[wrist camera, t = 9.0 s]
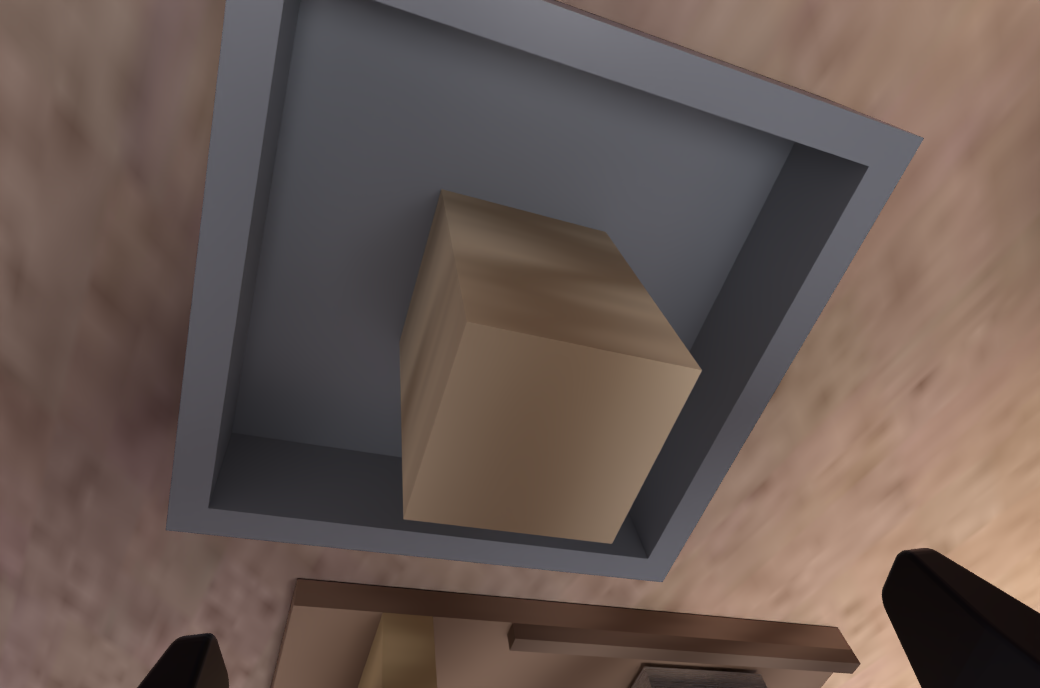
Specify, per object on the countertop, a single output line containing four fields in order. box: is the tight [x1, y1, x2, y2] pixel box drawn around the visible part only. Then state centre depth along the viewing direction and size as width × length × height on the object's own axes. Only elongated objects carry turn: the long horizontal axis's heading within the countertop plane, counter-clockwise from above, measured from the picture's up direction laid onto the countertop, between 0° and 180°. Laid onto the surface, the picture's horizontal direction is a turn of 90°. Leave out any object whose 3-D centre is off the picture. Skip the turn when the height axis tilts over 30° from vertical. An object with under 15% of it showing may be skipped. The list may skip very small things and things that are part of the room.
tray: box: [166, 0, 924, 582], centre depth 16 cm, size 13×13×4 cm
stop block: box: [399, 189, 702, 544], centre depth 14 cm, size 4×4×6 cm
